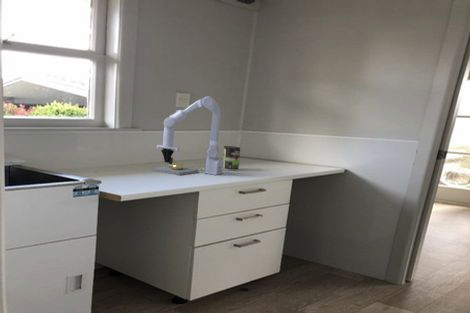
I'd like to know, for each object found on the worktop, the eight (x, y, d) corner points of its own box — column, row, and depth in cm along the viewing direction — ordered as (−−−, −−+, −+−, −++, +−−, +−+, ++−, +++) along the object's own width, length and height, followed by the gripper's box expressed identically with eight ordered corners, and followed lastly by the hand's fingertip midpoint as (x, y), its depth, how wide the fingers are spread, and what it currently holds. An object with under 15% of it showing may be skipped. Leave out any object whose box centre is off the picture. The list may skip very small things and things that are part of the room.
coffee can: (242, 170, 286) (243, 147, 284) (229, 171, 279) (231, 148, 278) (231, 167, 294) (233, 145, 292) (218, 168, 287) (220, 145, 285)
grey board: (198, 172, 264) (199, 169, 264) (179, 175, 249) (179, 172, 249) (173, 167, 274) (173, 165, 274) (153, 170, 259) (153, 167, 259)
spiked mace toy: (185, 169, 260) (185, 160, 259) (175, 169, 256) (175, 160, 255) (174, 166, 270) (174, 157, 269) (164, 166, 266) (165, 157, 265)
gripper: (182, 139, 263) (181, 163, 264) (162, 137, 270) (161, 160, 271) (175, 140, 257) (173, 164, 258) (155, 137, 264) (153, 160, 265)
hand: (166, 162), depth 264 cm, fingers closed
